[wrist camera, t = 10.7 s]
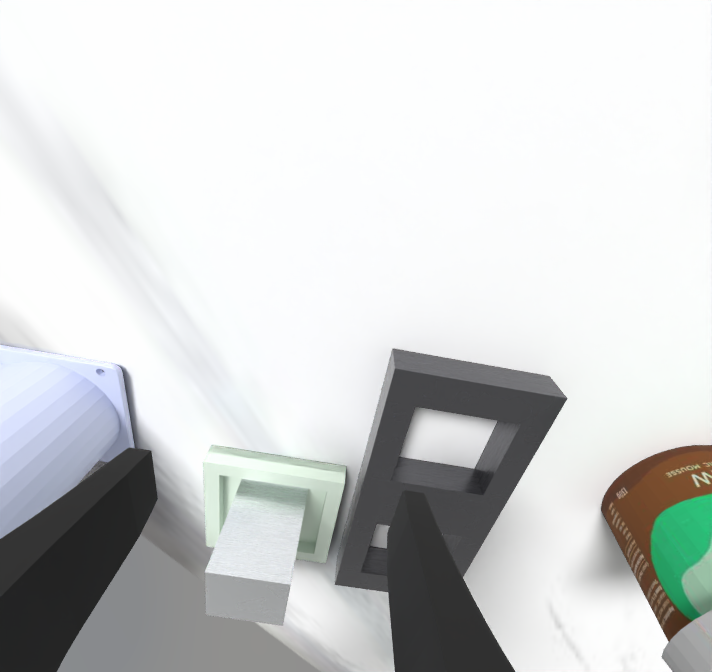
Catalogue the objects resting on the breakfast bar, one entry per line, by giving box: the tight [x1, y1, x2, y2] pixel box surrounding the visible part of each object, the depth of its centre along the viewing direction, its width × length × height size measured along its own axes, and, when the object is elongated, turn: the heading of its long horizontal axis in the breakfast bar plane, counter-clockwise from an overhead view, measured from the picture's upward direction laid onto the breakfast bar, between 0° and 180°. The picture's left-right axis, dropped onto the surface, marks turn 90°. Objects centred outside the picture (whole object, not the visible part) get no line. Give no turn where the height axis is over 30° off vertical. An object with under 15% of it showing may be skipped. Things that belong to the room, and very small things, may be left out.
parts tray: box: [203, 445, 346, 564], centre depth 25 cm, size 9×9×1 cm
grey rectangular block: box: [205, 479, 308, 626], centre depth 22 cm, size 4×4×6 cm
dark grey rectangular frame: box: [335, 349, 567, 592], centre depth 23 cm, size 9×20×2 cm, turn 170°
